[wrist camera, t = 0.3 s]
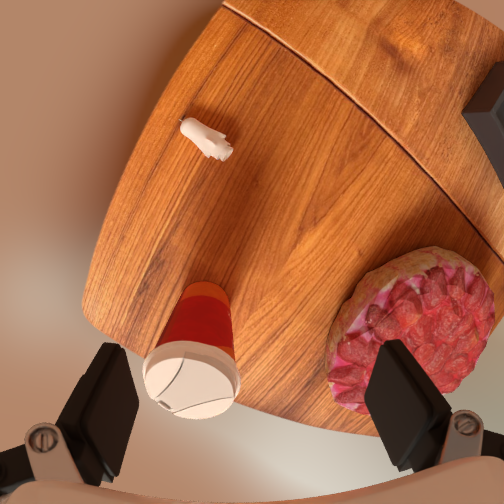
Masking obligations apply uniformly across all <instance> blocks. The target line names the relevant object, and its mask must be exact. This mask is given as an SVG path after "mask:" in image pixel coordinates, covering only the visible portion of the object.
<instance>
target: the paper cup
mask: <svg viewBox="0 0 504 504" xmlns="http://www.w3.org/2000/svg"><path fill="white" fill-rule="evenodd" d="M142 370H143V377H144V381H145V387H146V390H147V392H148V394H149V396H150V398H151V399H155V400H156V401H157V403H158V404H159V405H160V406H162V407H163V408H164V409H166V410H167V411H168V410H170V411H172V414H173V415H176V416H179V417H183V418H190V419H205V418H210V417H214V416H217V415H219V414H221V413H222V412H224V411H225V410H226V409H228V408H229V406H230V405H231V404H232V402H233V400H234V398H235V397H236V396H237V394H238V392H239V390H240V386H241V377H240V372H239V370H238V368H237V366H236V363H235V355H234V344H233V332H232V322H231V311H230V304H229V299H228V296H227V294H226V293H225V291H224V290H223V289H222V288H221V287H220V286H218V285H217V284H214V283H212V282H208V281H199V282H195V283H193V284H191V285H189V286H188V287H187V288H186V289H185V290H184V291H183V293H182V294H181V296H180V298H179V300H178V302H177V304H176V306H175V307H174V309H173V311H172V313H171V316H170V318H169V320H168V322H167V324H166V326H165V328H164V330H163V332H162V334H161V336H160V338H159V340H158V343H157V345H156V347H155V349H153V350H152V351H151V352H150V353H149V354H148V356H147V357H146V359H145V361H144V364H143V369H142Z"/></svg>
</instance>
